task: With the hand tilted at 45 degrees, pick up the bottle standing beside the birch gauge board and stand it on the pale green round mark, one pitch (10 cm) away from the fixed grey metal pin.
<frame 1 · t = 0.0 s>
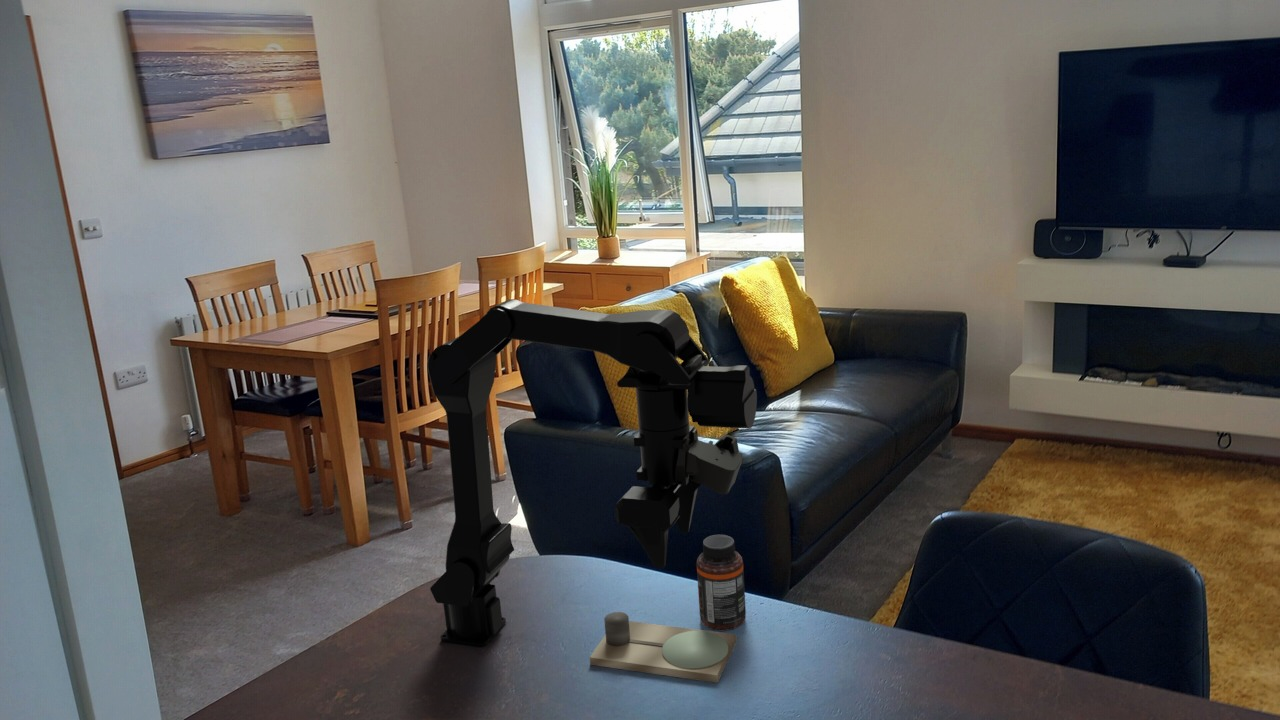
hand: (672, 549, 115), 15 cm above the table, tool pointing down, fingers open, 9 cm apart
supplement bottle: (723, 621, 127), on the table
gauge board: (664, 652, 120), on the table
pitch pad: (695, 657, 119), resting on gauge board
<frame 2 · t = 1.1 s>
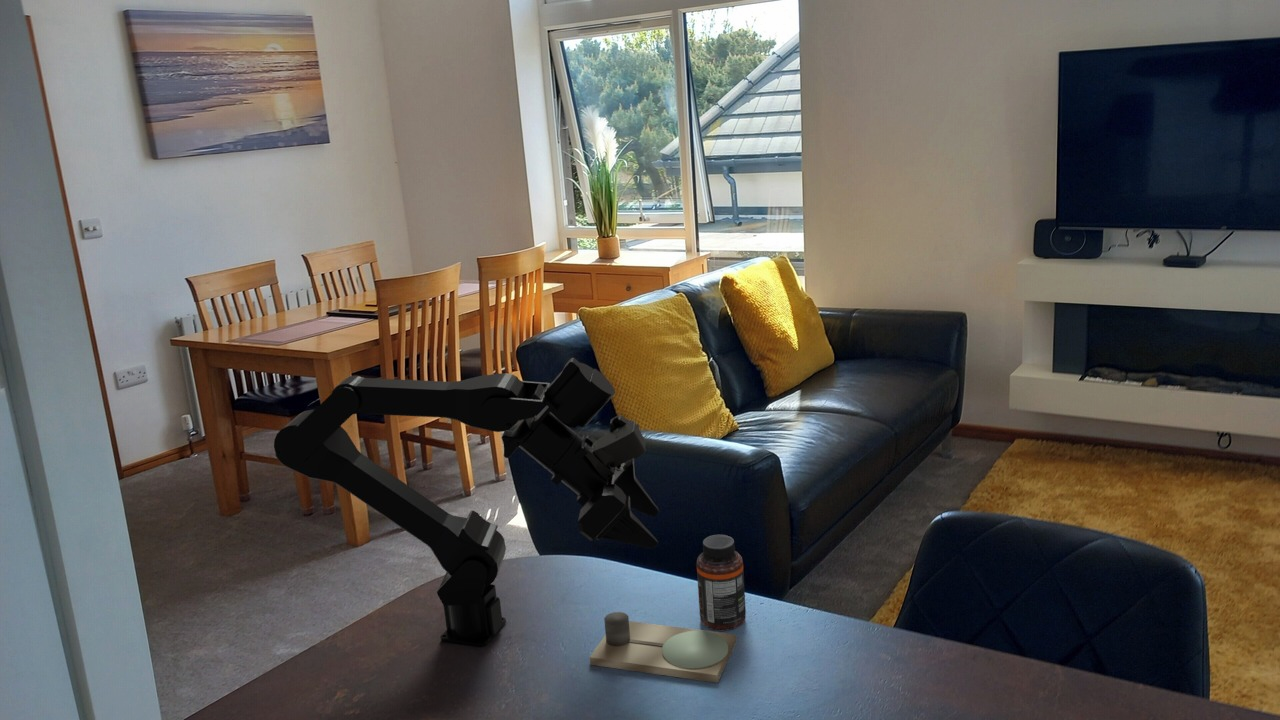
hand: (656, 529, 123), 13 cm above the table, tool tilted 45°, fingers open, 9 cm apart
nothing on the table moved.
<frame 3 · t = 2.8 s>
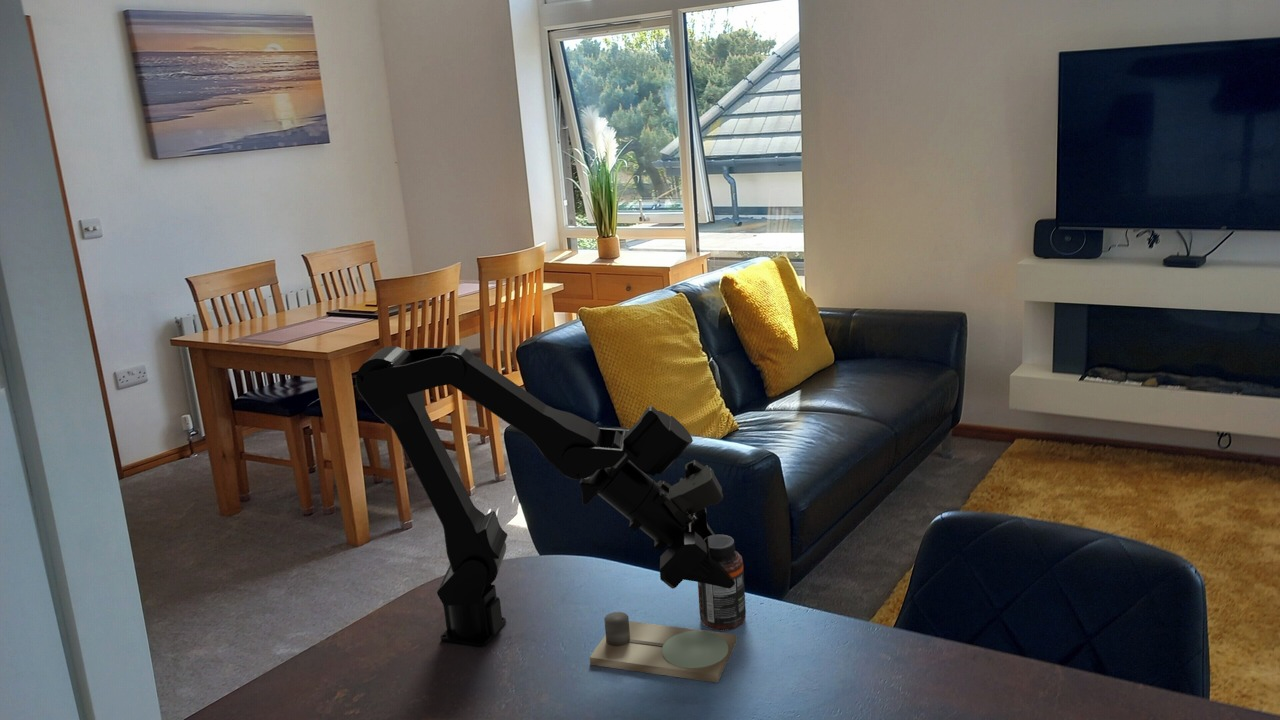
hand: (731, 573, 125), 7 cm above the table, tool tilted 45°, fingers closed on supplement bottle, 6 cm apart
supplement bottle: (723, 621, 127), on the table, touching gripper
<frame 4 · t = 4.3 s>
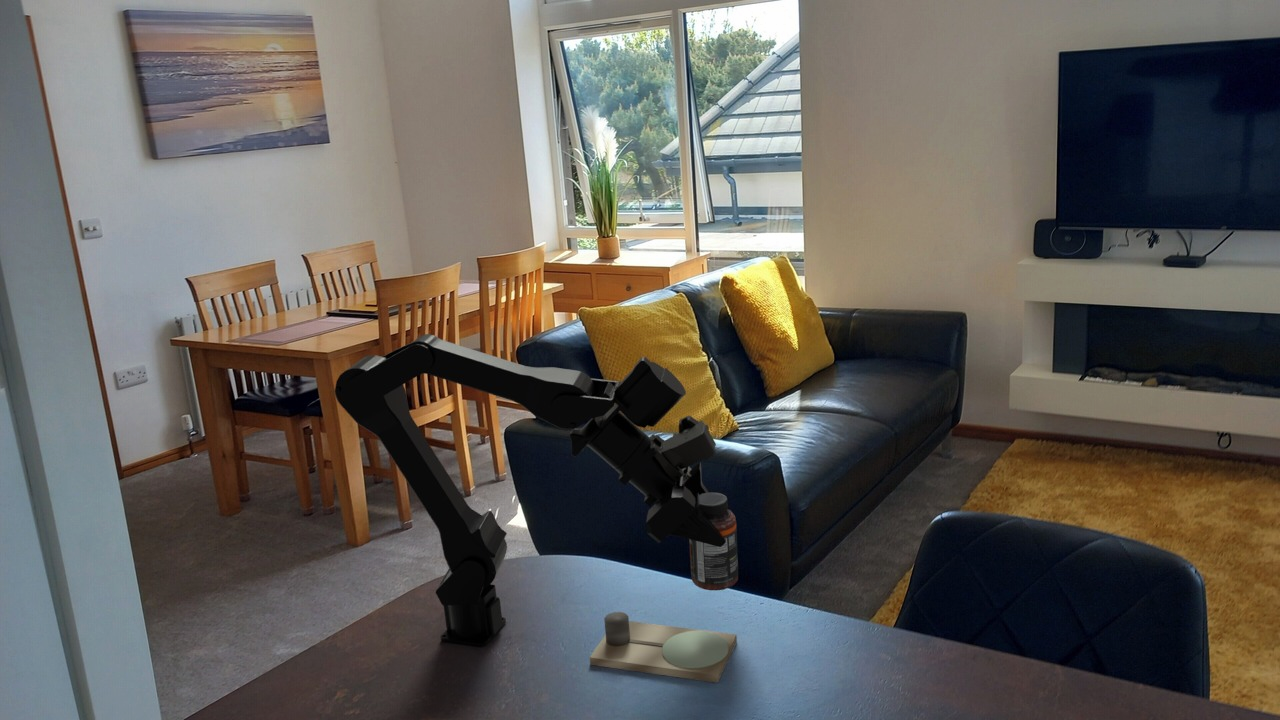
hand: (723, 532, 121), 13 cm above the table, tool tilted 45°, fingers closed on supplement bottle, 6 cm apart
supplement bottle: (714, 582, 123), point 6 cm above the table, touching gripper
when the fingers open (8 cm above the table, at t = 6.1 s): supplement bottle stays where it is, resting on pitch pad.
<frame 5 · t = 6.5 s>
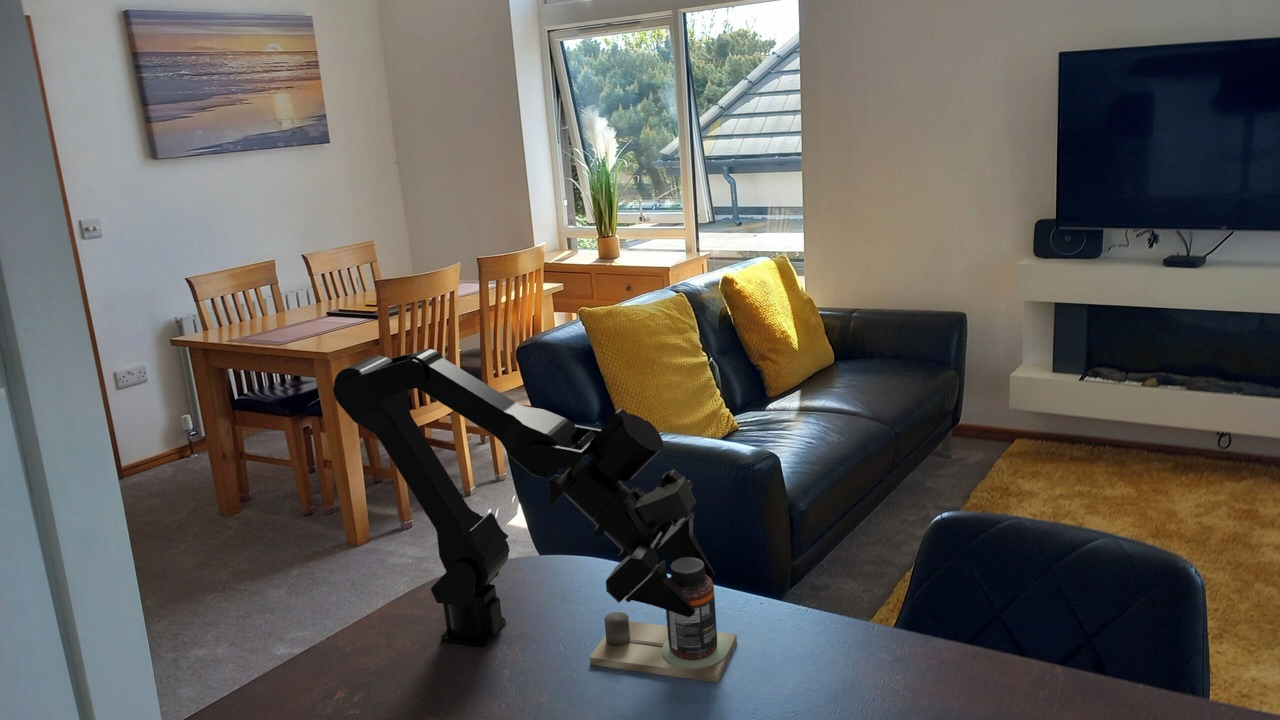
hand: (702, 594, 116), 9 cm above the table, tool tilted 45°, fingers open, 9 cm apart
supplement bottle: (693, 650, 118), point 1 cm above the table, touching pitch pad
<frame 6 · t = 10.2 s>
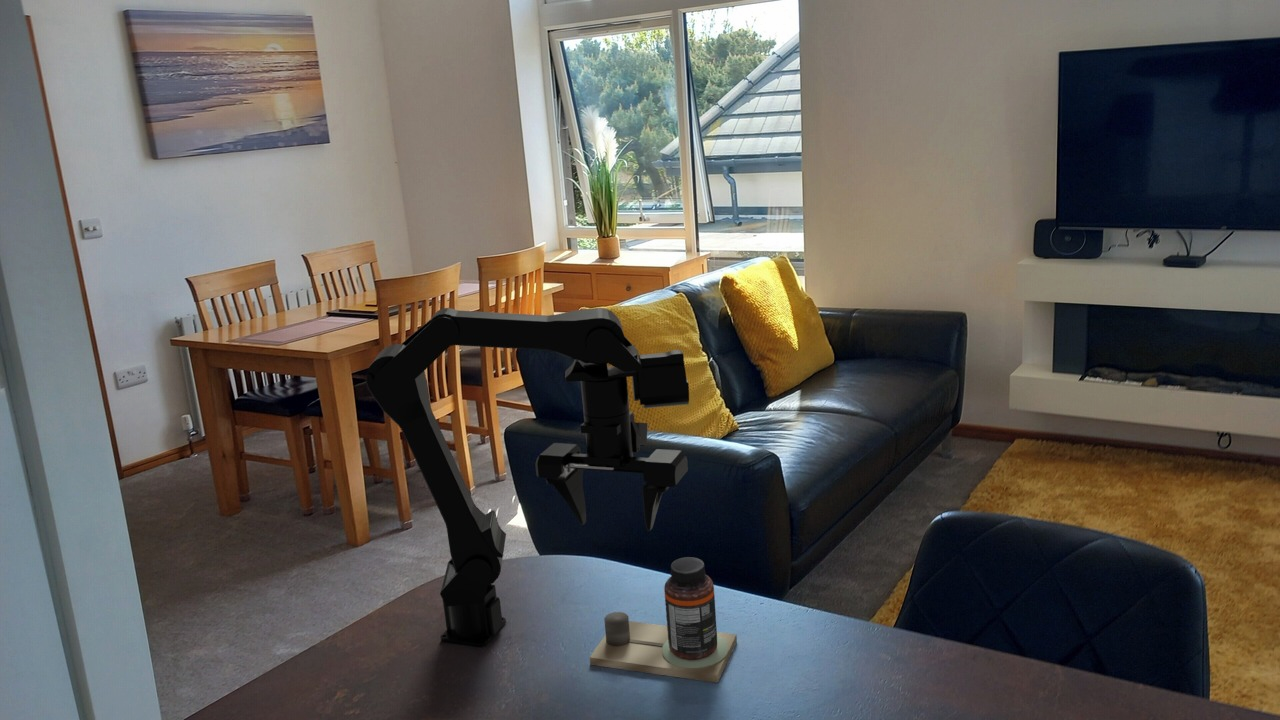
hand: (616, 526, 126), 13 cm above the table, tool pointing down, fingers open, 9 cm apart
nothing on the table moved.
at the end: supplement bottle 0.2 cm from the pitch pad (horizontally); supplement bottle tilted 0°; the gripper is holding nothing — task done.
